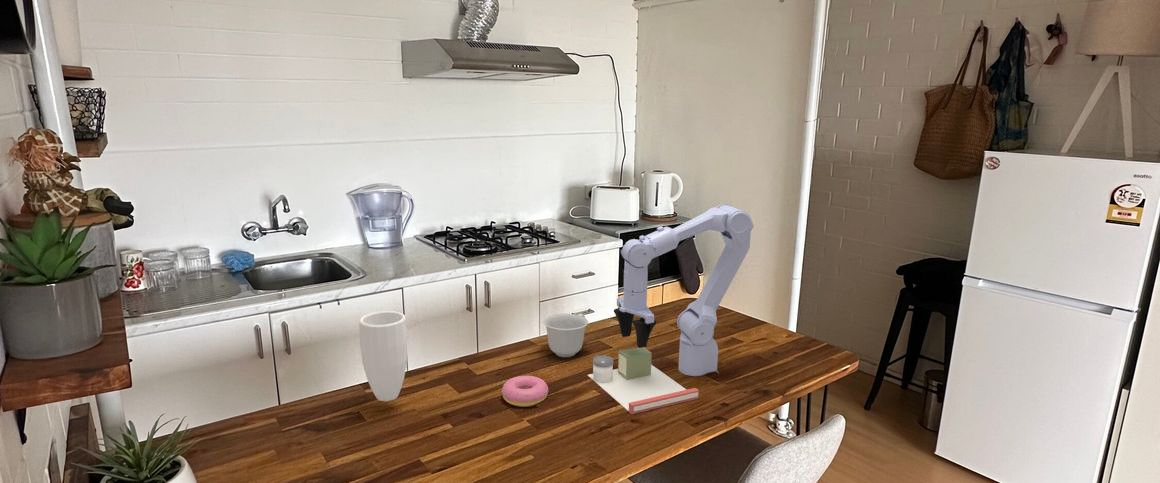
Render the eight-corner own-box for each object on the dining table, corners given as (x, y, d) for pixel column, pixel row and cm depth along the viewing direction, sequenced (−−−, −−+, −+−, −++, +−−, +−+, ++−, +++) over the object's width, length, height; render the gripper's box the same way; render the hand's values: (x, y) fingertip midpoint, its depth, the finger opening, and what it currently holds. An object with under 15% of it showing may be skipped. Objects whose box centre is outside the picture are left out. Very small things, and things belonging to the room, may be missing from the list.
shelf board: (648, 365, 170) (648, 355, 169) (698, 401, 150) (699, 390, 150) (587, 377, 162) (587, 367, 161) (632, 417, 143) (632, 406, 142)
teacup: (601, 349, 179) (602, 315, 177) (571, 368, 167) (572, 332, 165) (565, 340, 186) (565, 307, 183) (534, 358, 173) (534, 322, 171)
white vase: (420, 401, 148) (416, 313, 143) (394, 423, 139) (388, 329, 134) (382, 394, 152) (377, 307, 147) (353, 415, 142) (346, 322, 137)
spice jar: (606, 372, 163) (607, 354, 162) (616, 380, 159) (617, 361, 158) (589, 376, 161) (589, 357, 160) (598, 384, 157) (598, 365, 155)
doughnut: (517, 384, 158) (517, 368, 157) (556, 393, 154) (557, 377, 153) (492, 403, 149) (492, 386, 148) (533, 413, 144) (533, 396, 143)
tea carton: (641, 368, 166) (642, 346, 165) (650, 375, 162) (651, 352, 161) (617, 373, 163) (618, 351, 162) (626, 380, 159) (627, 357, 158)
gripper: (606, 283, 161) (605, 334, 165) (636, 299, 149) (635, 354, 152) (630, 279, 164) (629, 329, 168) (662, 295, 152) (660, 349, 155)
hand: (633, 341), depth 160 cm, fingers open, 7 cm apart
